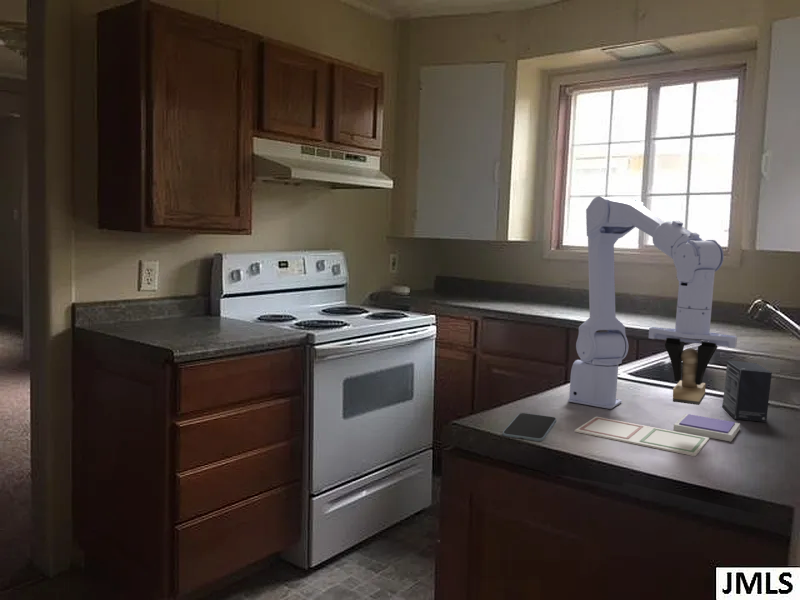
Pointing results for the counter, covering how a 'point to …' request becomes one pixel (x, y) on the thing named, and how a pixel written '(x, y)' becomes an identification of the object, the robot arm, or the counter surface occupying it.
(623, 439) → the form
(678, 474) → the counter surface
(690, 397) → the stamp
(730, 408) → the small box
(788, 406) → the counter surface
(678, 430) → the ink pad
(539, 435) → the smartphone
